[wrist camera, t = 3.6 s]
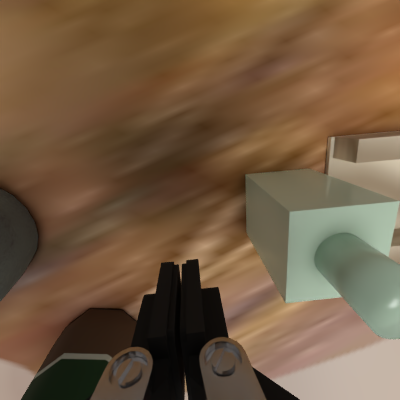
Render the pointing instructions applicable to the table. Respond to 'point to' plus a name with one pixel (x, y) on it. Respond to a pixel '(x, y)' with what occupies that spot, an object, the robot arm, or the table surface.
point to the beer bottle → (82, 355)
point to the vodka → (14, 241)
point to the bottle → (327, 242)
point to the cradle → (369, 168)
